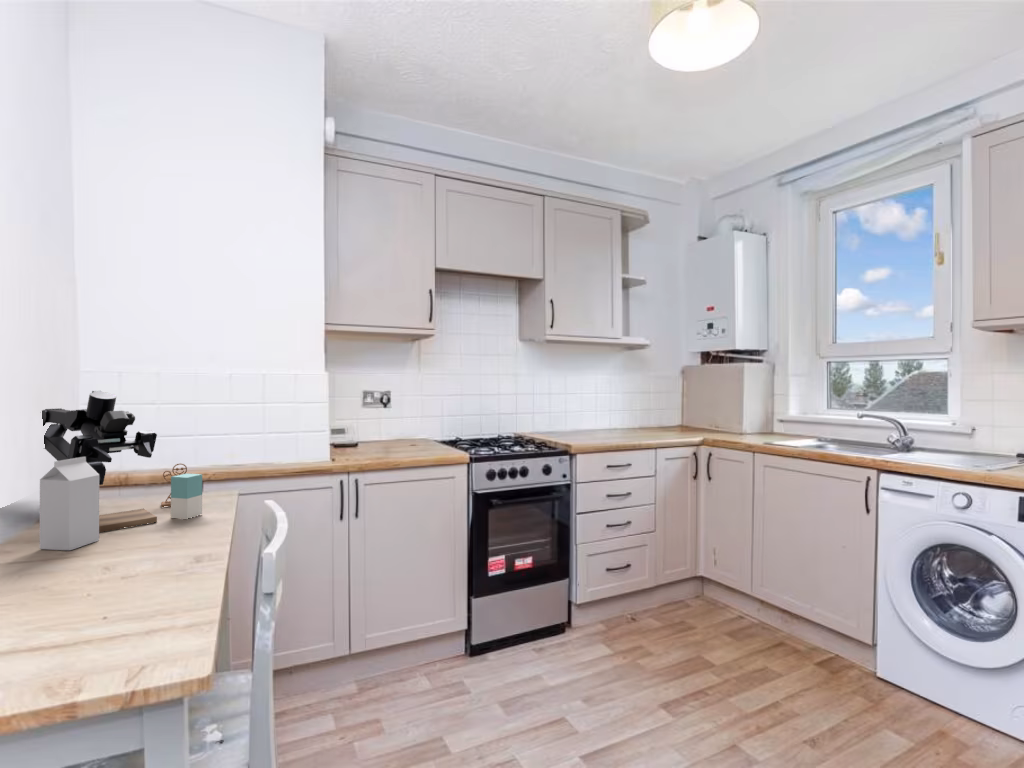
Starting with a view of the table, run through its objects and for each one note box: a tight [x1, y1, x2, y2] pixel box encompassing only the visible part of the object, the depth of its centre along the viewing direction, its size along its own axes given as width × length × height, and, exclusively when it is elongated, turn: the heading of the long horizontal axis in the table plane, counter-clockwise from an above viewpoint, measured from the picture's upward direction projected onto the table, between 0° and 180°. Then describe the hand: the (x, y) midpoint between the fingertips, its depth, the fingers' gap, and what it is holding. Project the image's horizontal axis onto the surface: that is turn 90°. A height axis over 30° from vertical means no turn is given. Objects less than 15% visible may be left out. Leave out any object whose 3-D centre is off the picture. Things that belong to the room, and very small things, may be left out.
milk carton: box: [39, 457, 100, 551], centre depth 113 cm, size 7×7×19 cm
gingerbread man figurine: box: [160, 462, 188, 508], centre depth 150 cm, size 9×4×12 cm, turn 124°
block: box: [170, 472, 203, 520], centre depth 137 cm, size 5×5×11 cm
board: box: [99, 508, 158, 533], centre depth 131 cm, size 12×12×2 cm
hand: (131, 458), depth 132 cm, fingers open, 9 cm apart
